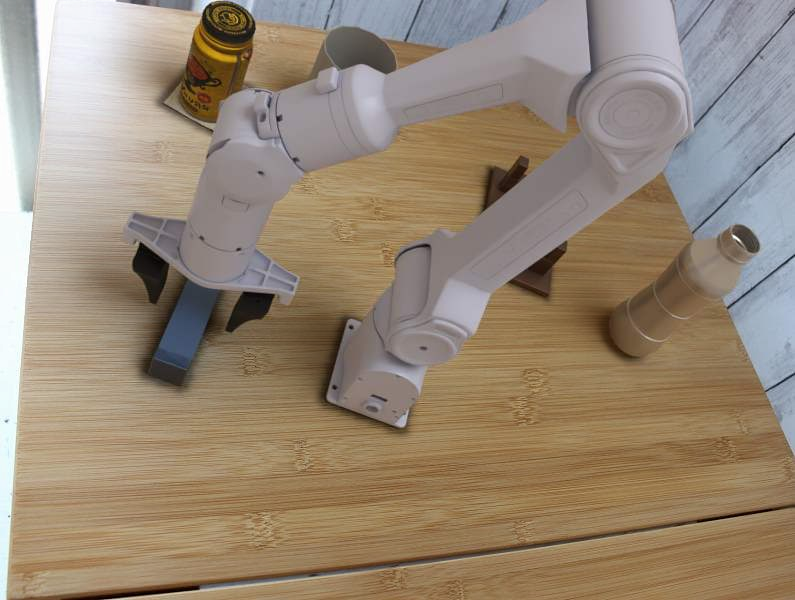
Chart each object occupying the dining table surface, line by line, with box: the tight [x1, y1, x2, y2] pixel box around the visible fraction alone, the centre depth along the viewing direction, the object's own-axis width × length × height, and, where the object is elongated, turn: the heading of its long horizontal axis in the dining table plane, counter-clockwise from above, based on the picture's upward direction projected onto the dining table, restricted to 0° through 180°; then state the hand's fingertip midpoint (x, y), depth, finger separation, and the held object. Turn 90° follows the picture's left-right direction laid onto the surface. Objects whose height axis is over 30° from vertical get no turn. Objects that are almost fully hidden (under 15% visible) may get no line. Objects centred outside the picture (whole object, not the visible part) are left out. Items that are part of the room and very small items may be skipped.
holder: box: [485, 154, 568, 298], centre depth 96 cm, size 16×9×6 cm, turn 169°
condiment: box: [162, 0, 257, 131], centre depth 87 cm, size 7×8×12 cm
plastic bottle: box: [608, 222, 762, 358], centre depth 88 cm, size 6×7×20 cm
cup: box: [307, 25, 399, 81], centre depth 93 cm, size 8×8×10 cm
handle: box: [147, 278, 221, 387], centre depth 75 cm, size 14×3×3 cm, turn 169°
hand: (194, 309), depth 75 cm, fingers open, 6 cm apart
